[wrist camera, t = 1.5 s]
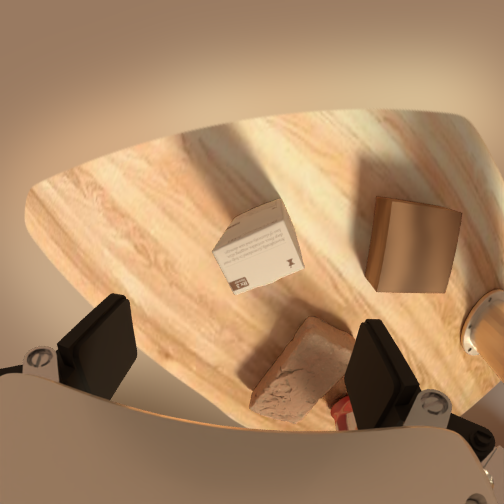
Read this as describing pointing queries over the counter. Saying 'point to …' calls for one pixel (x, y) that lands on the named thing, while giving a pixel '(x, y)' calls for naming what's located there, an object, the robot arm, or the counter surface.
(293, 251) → the skincare box
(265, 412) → the brick
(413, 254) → the walnut block
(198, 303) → the counter surface
